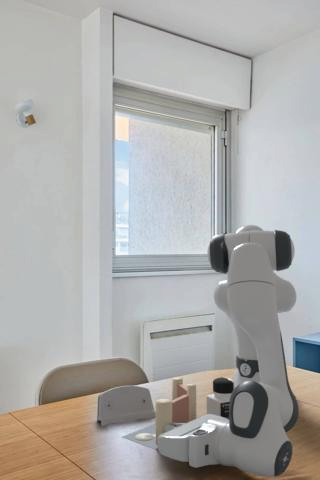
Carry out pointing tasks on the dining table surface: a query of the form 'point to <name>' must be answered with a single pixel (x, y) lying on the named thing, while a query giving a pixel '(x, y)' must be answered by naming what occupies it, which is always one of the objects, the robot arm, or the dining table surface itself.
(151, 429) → the board
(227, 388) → the medicine bottle
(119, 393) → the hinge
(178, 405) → the swing panel
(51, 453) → the dining table surface
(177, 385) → the fixed fence
